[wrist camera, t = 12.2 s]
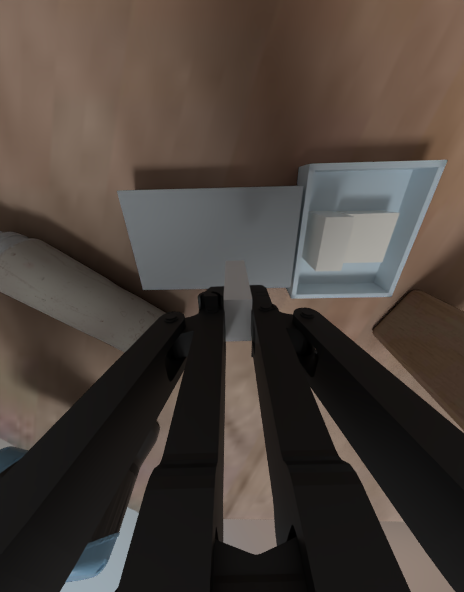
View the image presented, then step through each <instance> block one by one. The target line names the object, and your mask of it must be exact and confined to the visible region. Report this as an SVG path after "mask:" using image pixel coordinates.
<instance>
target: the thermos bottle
mask: <svg viewBox="0 0 464 592" xmlns="http://www.w3.org/2000/svg"><path fill="white" fill-rule="evenodd" d="M0 292H1V293H3V294H6V295H8V296H10V297H12V298H14V299H16V300H18V301H20V302H22V303H24V304H26V305H28V306H30V307H32V308H34V309H36V310H38V311H40V312H43V313H45V314H47V315H49V316H51V317H53V318H55V319H57V320H59V321H61V322H63V323H65V324H67V325H69V326H71V327H73V328H75V329H78V330H80V331H82V332H84V333H86V334H88V335H90V336H92V337H95V338H97V339H99V340H101V341H103V342H105V343H107V344H109V345H111V346H113V347H115V348H117V349H119V350H121V351H123V352H126V351H127V350H128V349H129V348H130V347H131V346H132V345H133V344H134V343H135V342H136V341H137V340H138V339H139V338H140V337H141V336H142V334H143V333H144V332H145V331H146V330H147V329H148V328H149V327H150V326H151V325H152V324H153V323H154V322H155V321H156V320H157V319H158V318H159V317H160V316H162V315H163V314H166V313H165V312H164V311H162V310H160V309H158V308H157V307H155V306H153V305H152V304H150V303H148V302H146V301H145V300H143V299H141V298H140V297H138V296H136V295H134V294H132V293H130V292H128V291H126V290H124V289H122V288H121V287H119V286H117V285H116V284H114V283H113V282H111V281H110V280H108V279H107V278H105V277H104V276H102V275H100V274H98V273H97V272H95V271H93V270H92V269H90V268H88V267H86V266H85V265H83V264H81V263H80V262H78V261H76V260H74V259H73V258H71V257H69V256H68V255H66V254H64V253H62V252H61V251H59V250H57V249H56V248H54V247H52V246H50V245H49V244H47V243H45V242H44V241H42V240H39V239H34V238H32V239H29V238H28V237H27V236H25V235H21V234H19V233H16V232H4V233H3V232H2V231H0Z"/></svg>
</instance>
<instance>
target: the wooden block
mask: <svg viewBox="0 0 464 592" xmlns="http://www.w3.org/2000/svg"><path fill="white" fill-rule="evenodd" d="M373 335H374V336H375V337H376V338H377V339H378V340H379V341H380V342H381V343H382V344H383V346H384V347H385V348H386V349H387V350H388V351H389V352H390V353H391V354H392V355H393V356H394V357H395V358H396V359H397V360H398V361H399V362H400V364H401V365H402V366H403V367H404V368H405V369H406V370H407V371H408V372H409V373H410V374H411V375H412V376H413V377H414V378H415V379H416V381H417V382H418V383H419V384H420V385H421V386H422V387H423V388H424V389H425V390H426V391H427V392H428V393H429V394H430V395H431V396H432V398H433V399H434V400H435V401H436V402H437V403H438V404H439V405H440V406H441V407H442V408H443V409H444V410H445V411H446V412H447V413H448V414H449V416H450V417H451V418H452V419H453V420H454V421H455V422H456V423H457V424H458V425H459V426H460V427H461V428H462V429H463V430H464V312H463V311H461V310H460V309H458V308H456V307H454V306H452V305H450V304H447V303H445V302H443V301H441V300H439V299H437V298H435V297H433V296H431V295H429V294H427V293H425V292H423V291H417V290H413V291H411V292H409V294H408V295H407V296H406V297H405V298H404V299H403V300H402V301H401V302H400V303H399V304H398V305H397V306H396V307H395V308H394V309H393V310H392V311H391V312H390V313H389V314H388V315H387V316H386V317H385V318H384V319H383V320H382V321H381V322H380V323H379V324H378V325H377V326H376V327H375V328H374V330H373Z"/></svg>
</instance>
